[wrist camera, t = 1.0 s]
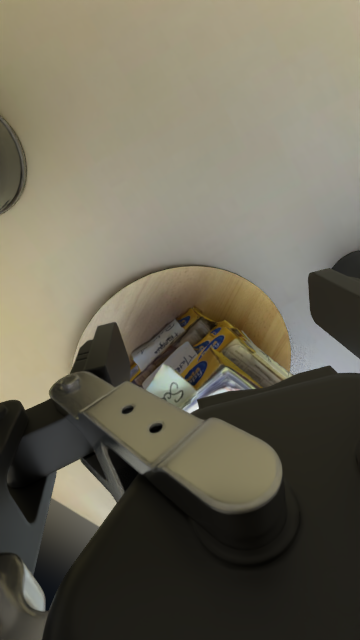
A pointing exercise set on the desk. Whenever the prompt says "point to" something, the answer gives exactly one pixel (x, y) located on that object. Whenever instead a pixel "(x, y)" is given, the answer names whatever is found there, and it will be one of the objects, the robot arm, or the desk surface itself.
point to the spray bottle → (349, 265)
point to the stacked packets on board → (197, 334)
